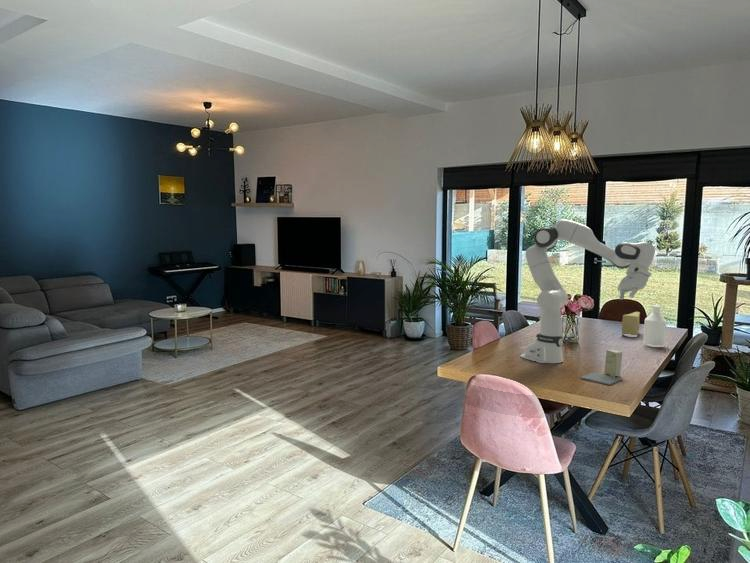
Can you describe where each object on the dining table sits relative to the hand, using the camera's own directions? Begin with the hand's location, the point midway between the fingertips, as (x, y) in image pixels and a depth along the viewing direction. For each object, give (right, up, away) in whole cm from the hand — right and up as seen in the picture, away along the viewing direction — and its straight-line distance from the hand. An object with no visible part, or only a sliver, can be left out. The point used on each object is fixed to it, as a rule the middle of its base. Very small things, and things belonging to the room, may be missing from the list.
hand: (625, 298), depth 266 cm
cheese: (+52, -28, +101) cm, 117 cm away
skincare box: (-8, -38, -2) cm, 39 cm away
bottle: (+48, -32, +67) cm, 88 cm away
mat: (-16, -38, -10) cm, 43 cm away
